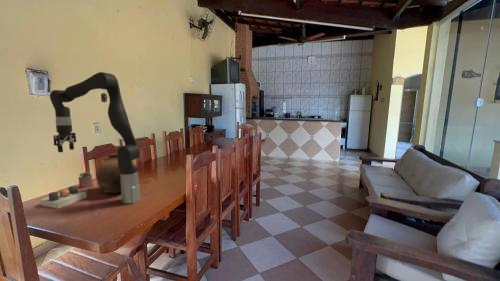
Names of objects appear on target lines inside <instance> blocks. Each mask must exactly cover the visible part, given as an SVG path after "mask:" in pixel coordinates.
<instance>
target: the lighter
mask: <svg viewBox="0 0 500 281" xmlns="http://www.w3.org/2000/svg"><path fill="white" fill-rule="evenodd" d="M77 178H78V184H79V189H80V190H83V189H87V188H91V187H93V186H94V185H93V175H92V174H91V172H90V171H89V172H88V171H87V172H86V171H85V172H82V173H79V177H77Z"/></svg>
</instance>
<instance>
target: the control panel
mask: <svg viewBox="0 0 500 281" xmlns="http://www.w3.org/2000/svg"><path fill="white" fill-rule="evenodd" d="M87 196H88V195H87V192H84V191H79V190H78V192H76V193H69V189H68V196H64V197H60V194H59V193H58V197H59V198H58V199H56V200H49V196H47V197H45V198H42V199H40V200H39V201H40V203H39V204H40V206H44V207H48V208H54V209H60V208H62V207H63V208H64V207H66V206H68V205H70V204H73V203H76V202H78V201H80V200H84V199H87Z"/></svg>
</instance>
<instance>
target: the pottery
mask: <svg viewBox="0 0 500 281" xmlns="http://www.w3.org/2000/svg"><path fill="white" fill-rule="evenodd" d="M106 156H107V157H108V158H107V159H106V160H104V161H103V162H101V163H100V164H99V165H98V166H97V168H96V171H95V172H96V181H97V183H98V186H99V188H100V189H101V190H102V191H103V192H105V193H110V194H111V193H113V194H115V193H121V181H120V170H119V168H118V161H117V153H112V154H107V155H106ZM132 165H133V166H136V164H135V163H134V161H132Z"/></svg>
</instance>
